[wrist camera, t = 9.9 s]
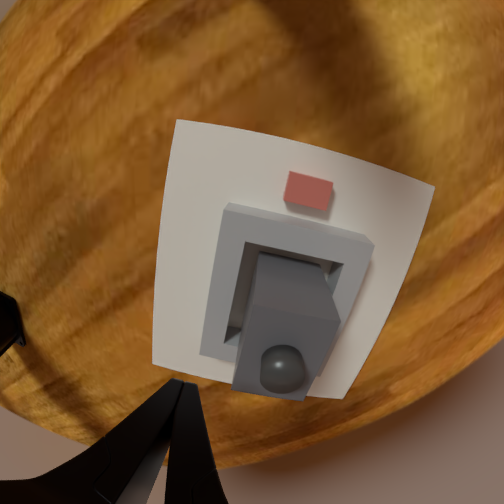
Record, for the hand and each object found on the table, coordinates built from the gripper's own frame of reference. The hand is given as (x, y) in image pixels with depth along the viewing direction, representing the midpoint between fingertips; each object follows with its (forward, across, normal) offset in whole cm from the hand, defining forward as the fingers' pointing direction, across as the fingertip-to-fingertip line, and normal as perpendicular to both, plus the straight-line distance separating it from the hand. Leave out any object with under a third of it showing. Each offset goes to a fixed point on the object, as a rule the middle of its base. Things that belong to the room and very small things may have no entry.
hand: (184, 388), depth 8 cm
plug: (+10, -4, +1) cm, 11 cm away
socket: (+11, -4, +1) cm, 12 cm away
